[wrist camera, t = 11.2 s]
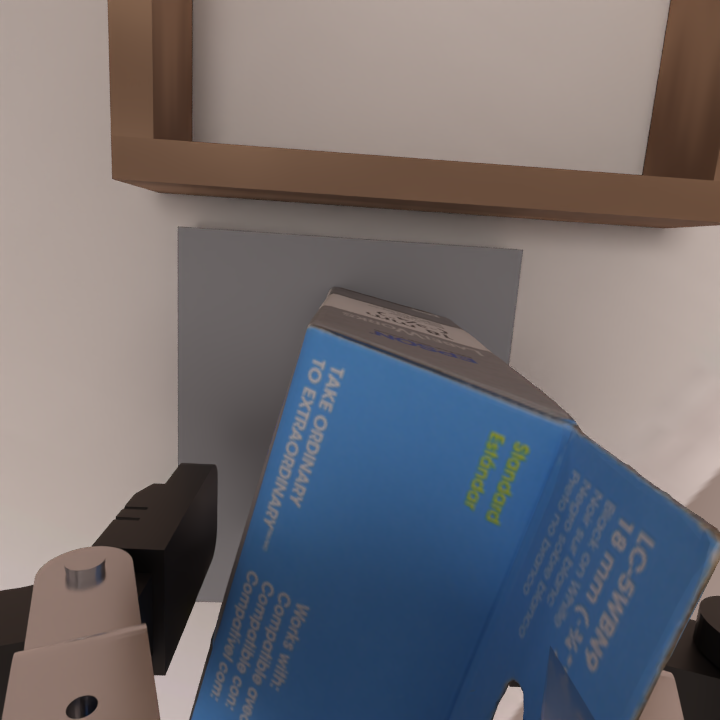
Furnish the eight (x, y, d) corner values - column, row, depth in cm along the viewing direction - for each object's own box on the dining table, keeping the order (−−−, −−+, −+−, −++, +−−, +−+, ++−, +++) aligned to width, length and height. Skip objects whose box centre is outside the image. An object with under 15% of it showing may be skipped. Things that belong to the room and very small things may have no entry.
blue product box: (327, 277, 16) (256, 365, 4) (453, 317, 16) (749, 515, 4) (246, 543, 18) (21, 1182, 6) (362, 575, 18) (386, 1250, 6)
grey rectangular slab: (191, 228, 17) (177, 226, 16) (507, 249, 17) (522, 249, 16) (190, 574, 19) (178, 601, 18) (468, 584, 20) (478, 611, 18)
